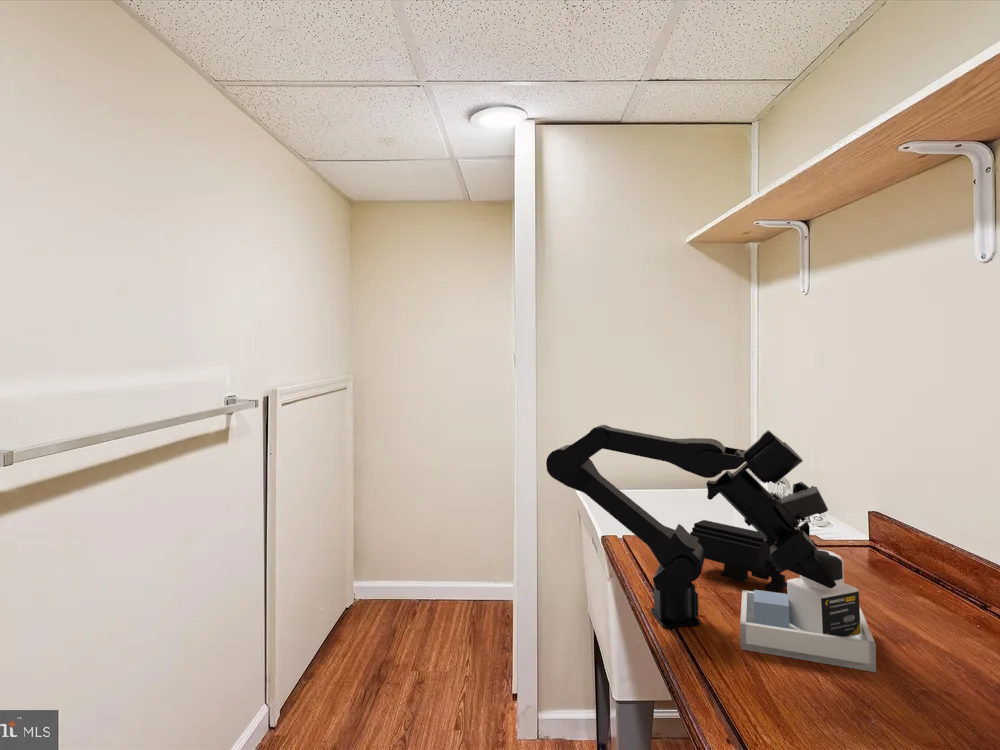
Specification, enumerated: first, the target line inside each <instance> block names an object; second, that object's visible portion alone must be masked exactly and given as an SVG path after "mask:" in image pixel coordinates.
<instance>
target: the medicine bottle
mask: <svg viewBox="0 0 1000 750" xmlns="http://www.w3.org/2000/svg"><path fill="white" fill-rule="evenodd" d="M815 556H816V557H817V558H818V560H819V561H820V562H821V564H822V565H823V566H824V568H825V569H826V570H827V572H828V573H829V574H830V576H831V577H832V578H833V580H834V581H835V583H836V586H834V587H833V588H828V587H826V586H824V585H821V584H819V583H817V582H815V581H813V580H810V579H808V578H806V577H803V576H801V575H799V577H796V578H795V577H794V578H790V579H787V581H786V582H787V587H786V590H787V591H786V592H787V593H786V594H787V596H788V601H789V623H790V624H792V625H794V626H795V627H797V628H799V629H801V630H802V631H807V632H814V633H820V634H827V635H833V636H840V637H846V638H847V637H851V636H856V635H860V633H861V629H860V608H861V607H860V608H859V606H860V591H859V589H858V588H856V587H855V586H852V585H850V584H849V583H848V584H847V583H845V576H844V560H843V558H842V557H841V556H840V555H839V554H837V553H835V552H833V551H830V550H826V549H818V548H817V549H815Z"/></svg>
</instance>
